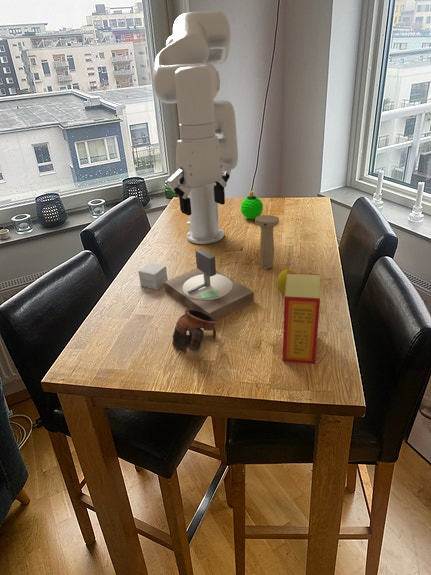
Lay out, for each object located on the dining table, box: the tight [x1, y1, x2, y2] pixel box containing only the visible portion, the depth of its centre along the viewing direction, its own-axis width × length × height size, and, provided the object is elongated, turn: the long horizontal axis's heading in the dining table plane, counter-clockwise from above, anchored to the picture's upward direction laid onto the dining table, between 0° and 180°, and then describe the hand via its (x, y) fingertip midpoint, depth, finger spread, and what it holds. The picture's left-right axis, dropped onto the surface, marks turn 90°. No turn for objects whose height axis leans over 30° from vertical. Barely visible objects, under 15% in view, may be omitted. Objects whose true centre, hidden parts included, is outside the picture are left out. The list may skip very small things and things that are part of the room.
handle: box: [254, 214, 280, 270], centre depth 118 cm, size 5×6×15 cm
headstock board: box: [164, 268, 255, 322], centre depth 110 cm, size 20×14×3 cm
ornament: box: [240, 190, 264, 220], centre depth 152 cm, size 8×8×10 cm
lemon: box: [276, 268, 297, 296], centre depth 106 cm, size 6×6×8 cm
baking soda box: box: [282, 272, 321, 364], centre depth 87 cm, size 10×6×16 cm
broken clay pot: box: [171, 308, 217, 354], centre depth 93 cm, size 12×10×8 cm
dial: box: [183, 274, 233, 300], centre depth 109 cm, size 13×13×1 cm
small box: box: [137, 262, 169, 291], centre depth 117 cm, size 6×6×5 cm
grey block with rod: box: [187, 248, 217, 293], centre depth 105 cm, size 6×7×9 cm
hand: (203, 208), depth 98 cm, fingers open, 9 cm apart
